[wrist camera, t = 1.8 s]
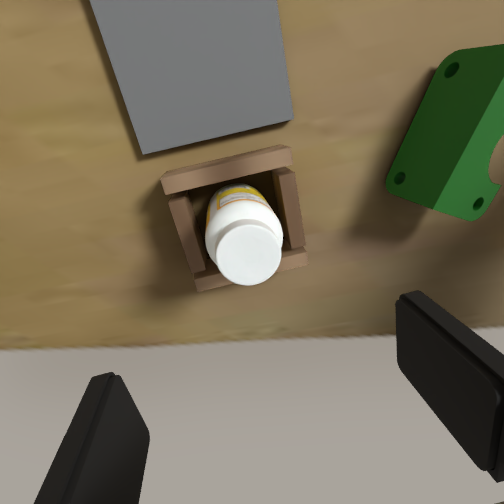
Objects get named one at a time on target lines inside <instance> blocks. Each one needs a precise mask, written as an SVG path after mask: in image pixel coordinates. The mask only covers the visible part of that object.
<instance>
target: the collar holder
mask: <svg viewBox="0 0 504 504" xmlns="http://www.w3.org/2000/svg"><path fill="white" fill-rule="evenodd" d="M292 164H293V159H292V152H291V147H287V146H284V145H276V146H272V147H268V148H264V149H260V150H255V151H251V152H247V153H243V154H239V155H234V156H230V157H226V158H222V159H217V160H213V161H209V162H205V163H201V164H196V165H192V166H188V167H184V168H180V169H175V170H171V171H167V172H166V173H165V174H164V175H163V176H162V177H161V178H160V180H161V183H162V186H163V189H164V192H165V195H167V194H172V193H173V195H172V197H171V198H170V200H169V202H168V204H169V207H170V210H171V213H172V216H173V219H174V222H175V225H176V228H177V231H178V234H179V237H180V240H181V243H182V246H183V249H184V252H185V255H186V258H187V261H188V264H189V267H190V270H191V273H194V282H195V285H196V288H197V291H198V292H201V291H205V290H209V289H213V288H217V287H221V286H225V285H229V284H233V283H234V282H231V281H230V280H228V279H227V278H226V277H224V276H223V274H222V273H221V272H220V270H219V269H218V266H217V265H216V264H215V263H214V261H213V260H212V259H207V260H206V257H207V253H206V250H205V246H204V243H203V240H202V236H201V233H200V230H199V226H198V223H197V220H196V216H195V213H194V210H193V206H192V203H191V200H190V196H189V193H188V189H192V188H197V187H201V186H205V185H209V184H213V183H217V182H222V181H226V180H230V179H234V178H238V177H242V176H247V175H251V174H255V173H259V172H263V171H267V170H271V174H272V180H273V185H274V191H275V196H276V201H277V207H278V212H279V218H280V223H281V227H282V232H283V236H284V238H285V239H286V240H284V241H283V243H282V247H281V261H280V264H279V266H278V268H277V270H276V271H275V273H277V272H281V271H285V270H289V269H293V268H297V267H301V266H305V265H309V262H308V256H307V251H306V250H305V249H304V247H303V246H305V245H306V243H305V236H304V230H303V224H302V217H301V211H300V204H299V198H298V191H297V185H296V178H295V172H293V171H291V170H290V169H288V168H286V167H285V166H288V165H292Z"/></svg>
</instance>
